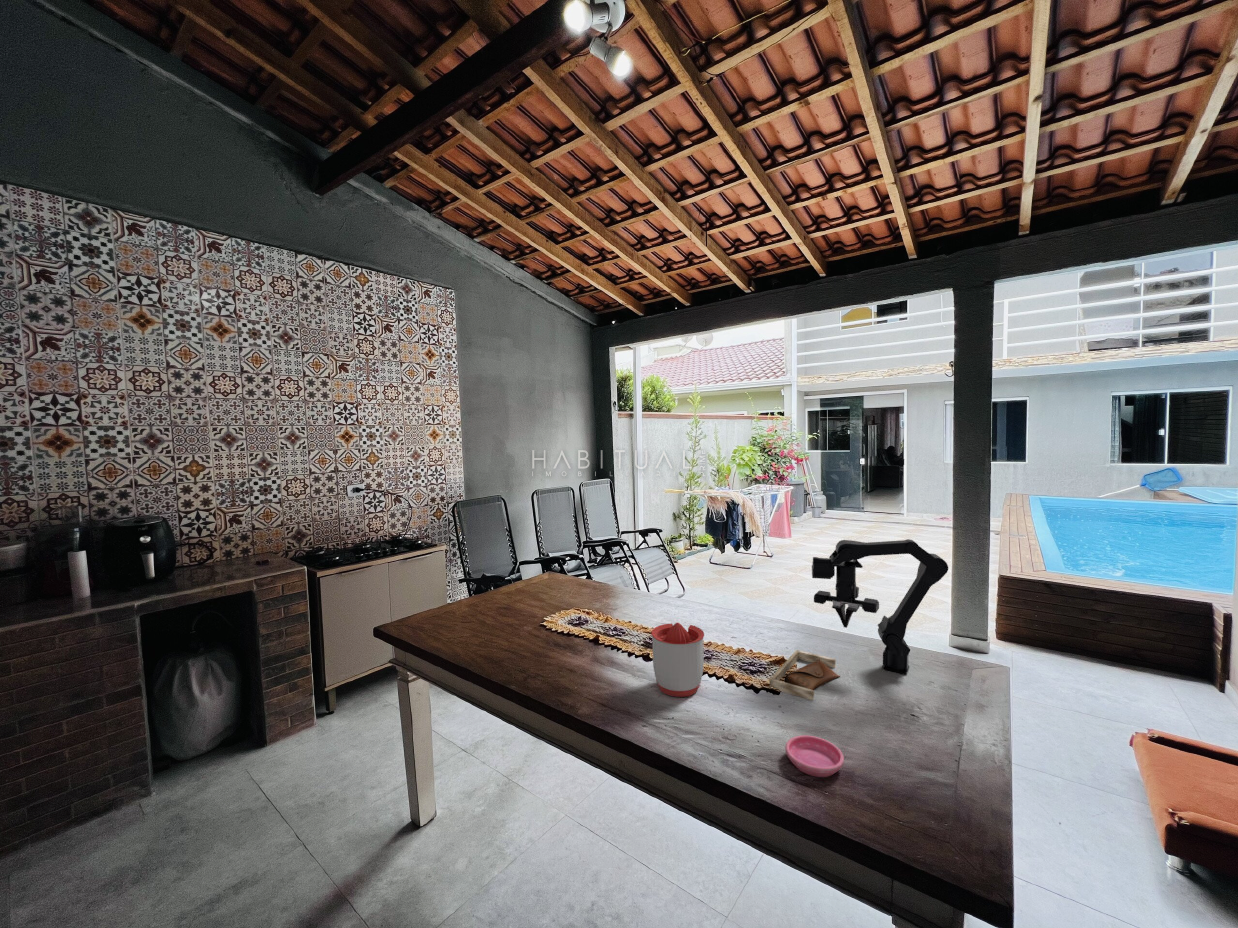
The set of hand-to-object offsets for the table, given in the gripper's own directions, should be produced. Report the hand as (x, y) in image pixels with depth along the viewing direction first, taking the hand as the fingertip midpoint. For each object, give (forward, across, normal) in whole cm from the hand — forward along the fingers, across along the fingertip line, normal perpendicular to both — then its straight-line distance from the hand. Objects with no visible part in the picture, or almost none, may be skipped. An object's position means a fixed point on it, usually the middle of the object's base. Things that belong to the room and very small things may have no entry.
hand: (845, 627), depth 164 cm
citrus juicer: (+12, +37, +44) cm, 59 cm away
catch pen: (+12, +8, +17) cm, 22 cm away
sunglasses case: (+13, +5, +17) cm, 22 cm away
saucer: (+12, -6, +57) cm, 59 cm away
